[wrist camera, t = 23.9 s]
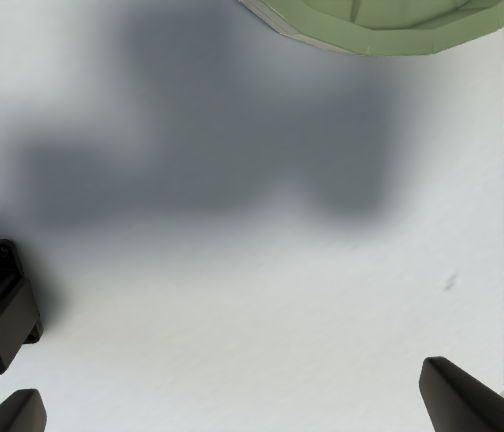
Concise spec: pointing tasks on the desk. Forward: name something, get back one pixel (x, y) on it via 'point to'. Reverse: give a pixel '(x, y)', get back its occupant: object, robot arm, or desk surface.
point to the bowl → (381, 23)
